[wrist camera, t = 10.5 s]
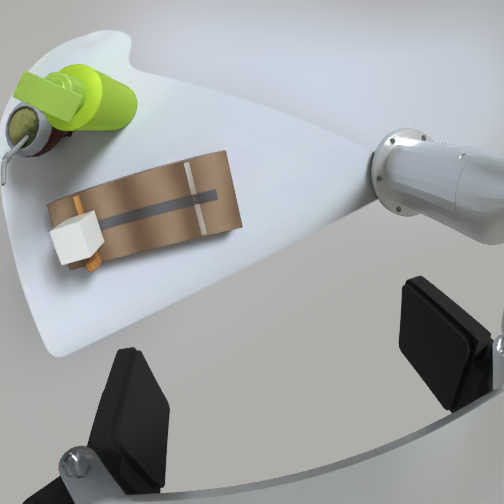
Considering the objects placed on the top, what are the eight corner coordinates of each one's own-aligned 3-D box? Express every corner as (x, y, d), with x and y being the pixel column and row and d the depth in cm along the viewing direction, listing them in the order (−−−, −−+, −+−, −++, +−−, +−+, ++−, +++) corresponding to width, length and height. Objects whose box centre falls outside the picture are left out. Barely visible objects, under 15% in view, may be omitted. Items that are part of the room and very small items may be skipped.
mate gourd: (44, 93, 30) (-25, 84, 16) (90, 111, 32) (29, 104, 19) (25, 146, 32) (-47, 160, 18) (68, 166, 34) (3, 187, 20)
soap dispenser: (129, 141, 35) (53, 152, 16) (85, 119, 33) (-14, 117, 14) (153, 98, 33) (96, 66, 15) (107, 77, 31) (22, 38, 13)
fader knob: (94, 210, 34) (78, 221, 29) (104, 241, 35) (90, 257, 30) (66, 219, 33) (49, 231, 29) (77, 249, 35) (61, 265, 30)
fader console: (224, 150, 37) (226, 152, 31) (240, 220, 40) (244, 233, 35) (56, 199, 36) (37, 209, 30) (77, 261, 39) (62, 278, 34)
